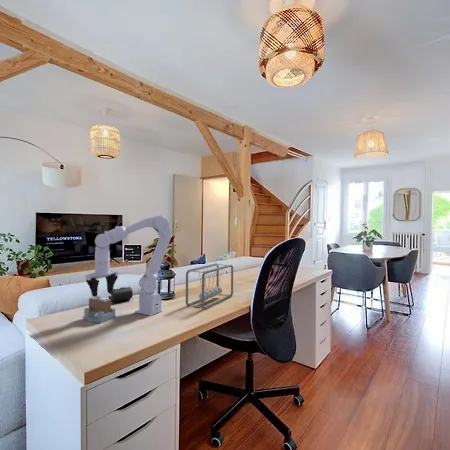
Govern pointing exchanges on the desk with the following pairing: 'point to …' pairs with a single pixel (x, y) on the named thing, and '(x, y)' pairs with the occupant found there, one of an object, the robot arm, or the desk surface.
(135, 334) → the desk surface
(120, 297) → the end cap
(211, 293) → the newton's cradle
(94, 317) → the display stand
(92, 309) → the tan brown bar
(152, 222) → the robot arm
